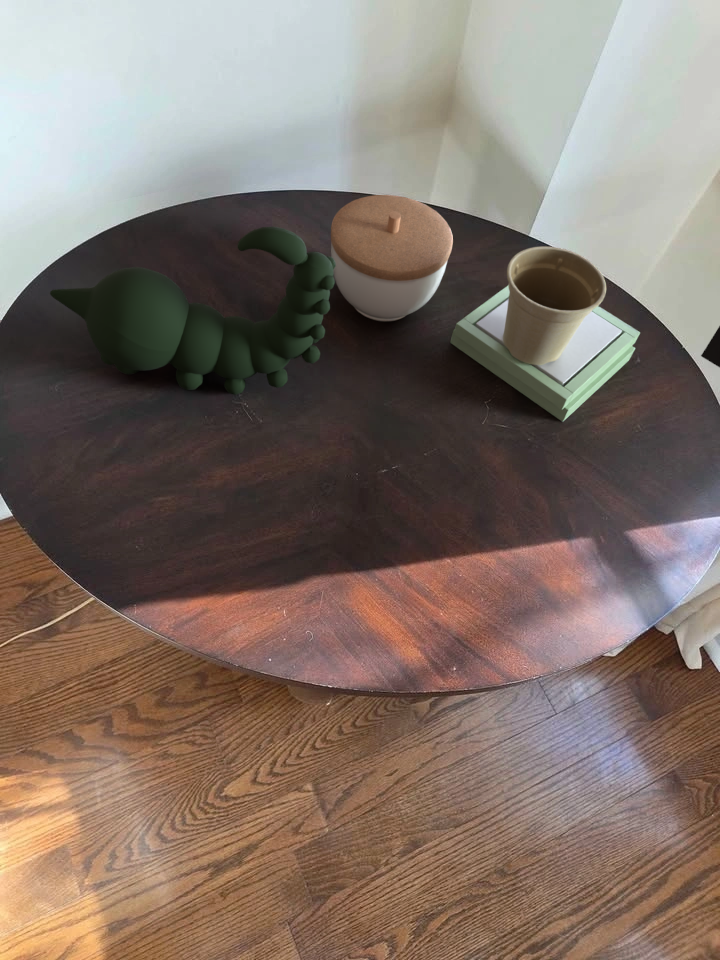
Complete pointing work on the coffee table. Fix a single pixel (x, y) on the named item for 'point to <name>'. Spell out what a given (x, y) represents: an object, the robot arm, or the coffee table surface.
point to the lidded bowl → (389, 254)
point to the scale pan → (576, 355)
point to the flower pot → (548, 301)
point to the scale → (530, 378)
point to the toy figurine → (207, 320)
